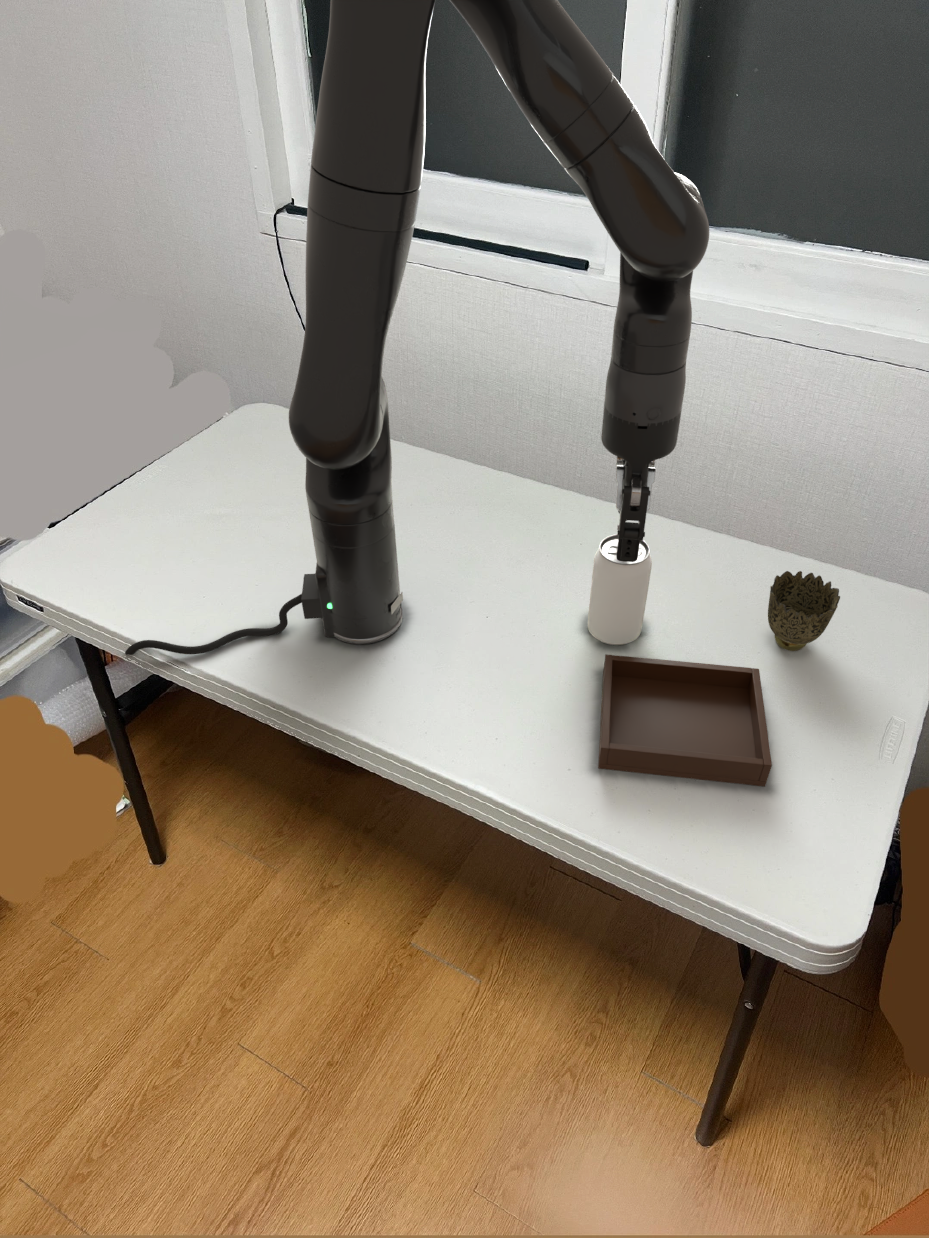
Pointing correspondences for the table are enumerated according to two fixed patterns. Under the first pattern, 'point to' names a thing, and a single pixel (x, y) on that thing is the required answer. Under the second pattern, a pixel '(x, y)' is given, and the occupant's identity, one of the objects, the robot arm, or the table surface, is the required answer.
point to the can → (618, 593)
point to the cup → (800, 609)
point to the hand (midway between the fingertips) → (627, 535)
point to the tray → (683, 720)
